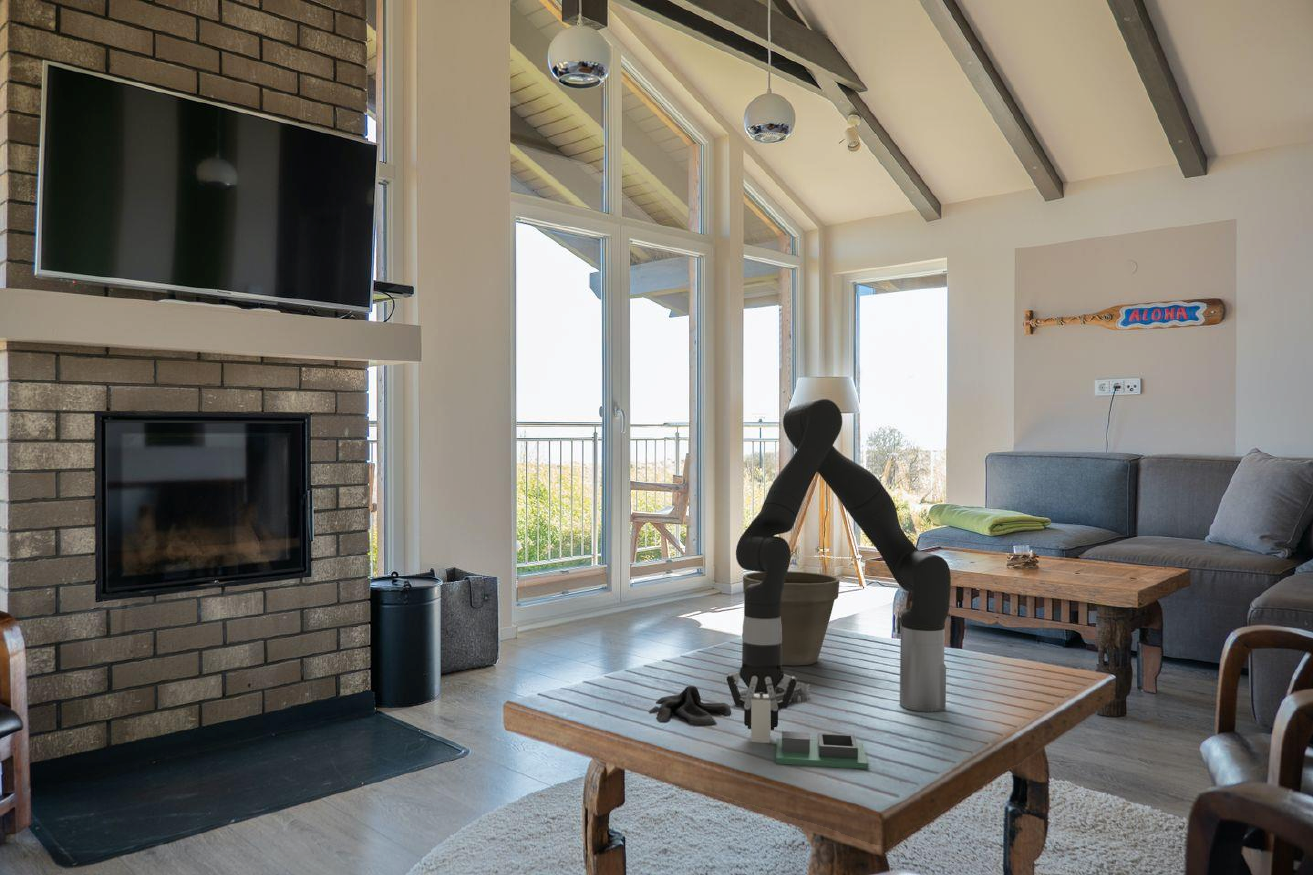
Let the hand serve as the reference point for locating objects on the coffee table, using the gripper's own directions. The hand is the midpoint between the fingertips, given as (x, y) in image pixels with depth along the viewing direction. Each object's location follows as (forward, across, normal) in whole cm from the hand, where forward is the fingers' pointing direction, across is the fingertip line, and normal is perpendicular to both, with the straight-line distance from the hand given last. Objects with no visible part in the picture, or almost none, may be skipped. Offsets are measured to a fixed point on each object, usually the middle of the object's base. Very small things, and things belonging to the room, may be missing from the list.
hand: (760, 727), depth 183 cm
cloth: (+3, +16, -14) cm, 22 cm away
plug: (+2, 0, 0) cm, 2 cm away
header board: (+2, -11, +8) cm, 14 cm away
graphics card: (+3, -1, -27) cm, 27 cm away
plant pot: (+2, -6, -66) cm, 66 cm away
